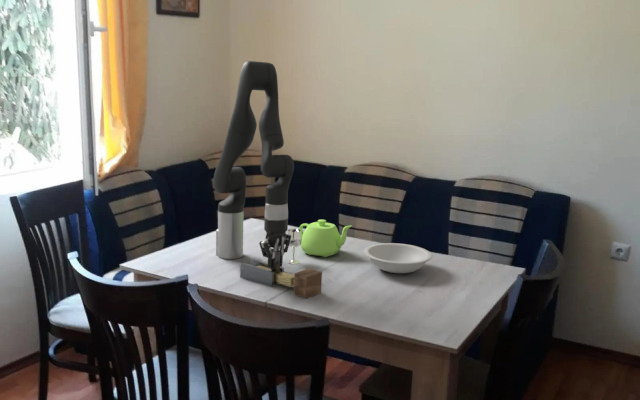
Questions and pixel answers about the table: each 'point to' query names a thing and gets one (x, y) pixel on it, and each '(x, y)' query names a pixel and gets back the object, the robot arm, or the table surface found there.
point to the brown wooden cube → (307, 283)
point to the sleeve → (258, 273)
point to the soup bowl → (397, 257)
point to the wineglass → (294, 242)
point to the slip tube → (280, 272)
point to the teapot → (322, 238)
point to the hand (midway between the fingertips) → (275, 267)
